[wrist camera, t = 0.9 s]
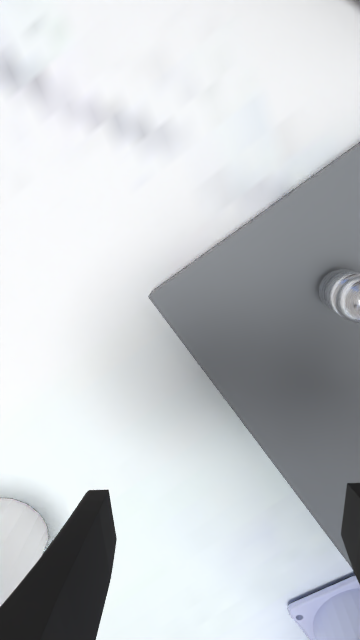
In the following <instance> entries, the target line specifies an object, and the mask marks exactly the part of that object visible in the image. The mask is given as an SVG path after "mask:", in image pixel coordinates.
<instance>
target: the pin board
mask: <svg viewBox="0 0 360 640" xmlns="http://www.w3.org/2000/svg"><path fill="white" fill-rule="evenodd" d="M338 269H348V270H351V271H355V272H358V273H360V142H359V143H358V144H357V145H355V146H354V147H353V148H351V149H350V150H348V151H347V152H346V153H344V154H343V155H341V156H340V157H339V158H337V159H336V160H334V161H333V162H332V163H330V164H329V165H327V166H326V167H325V168H323V169H322V170H320V171H319V172H318V173H316V174H315V175H313V176H312V177H311V178H309V179H308V180H307V181H305V182H304V183H302V184H301V185H300V186H298V187H297V188H295V189H294V190H293V191H291V192H290V193H288V194H287V195H286V196H284V197H283V198H281V199H280V200H279V201H277V202H276V203H274V204H273V205H272V206H270V207H269V208H267V209H266V210H265V211H263V212H262V213H261V214H259V215H258V216H256V217H255V218H254V219H252V220H251V221H249V222H248V223H247V224H245V225H244V226H242V227H241V228H240V229H238V230H237V231H235V232H234V233H233V234H231V235H230V236H228V237H227V238H226V239H224V240H223V241H221V242H220V243H219V244H217V245H216V246H215V247H213V248H212V249H210V250H209V251H208V252H206V253H205V254H203V255H202V256H201V257H199V258H198V259H196V260H195V261H194V262H192V263H191V264H189V265H188V266H187V267H185V268H184V269H182V270H181V271H180V272H178V273H177V274H175V275H174V276H173V277H171V278H170V279H169V280H167V281H166V282H164V283H163V284H162V285H160V286H159V287H157V288H156V289H155V290H153V291H152V292H151V293H150V295H149V296H148V297H149V299H150V300H151V301H152V303H153V304H154V305H155V307H156V308H157V309H158V311H159V312H160V313H161V314H162V316H163V317H164V318H165V320H166V321H167V322H168V324H169V325H170V326H171V328H172V329H173V330H174V332H175V333H176V334H177V336H178V337H179V338H180V340H181V341H182V342H183V344H184V345H185V346H186V348H187V349H188V350H189V352H190V353H191V354H192V356H193V357H194V358H195V360H196V361H197V362H198V364H199V365H200V366H201V368H202V369H203V370H204V372H205V373H206V374H207V376H208V377H209V378H210V380H211V381H212V382H213V384H214V385H215V386H216V388H217V389H218V390H219V392H220V393H221V394H222V396H223V397H224V398H225V400H226V401H227V402H228V404H229V405H230V406H231V408H232V409H233V410H234V412H235V413H236V414H237V416H238V417H239V418H240V420H241V421H242V422H243V424H244V425H245V426H246V428H247V429H248V430H249V432H250V433H251V434H252V436H253V437H254V438H255V440H256V441H257V442H258V444H259V445H260V446H261V448H262V449H263V450H264V452H265V453H266V454H267V456H268V457H269V458H270V460H271V461H272V462H273V464H274V465H275V466H276V468H277V469H278V470H279V472H280V473H281V474H282V476H283V477H284V478H285V480H286V481H287V482H288V484H289V485H290V486H291V488H292V489H293V490H294V492H295V493H296V494H297V496H298V497H299V498H300V500H301V501H302V502H303V504H304V505H305V506H306V508H307V509H308V510H309V512H310V513H311V514H312V516H313V517H314V518H315V520H316V521H317V522H318V524H319V525H320V526H321V528H322V529H323V530H324V532H325V533H326V534H327V535H328V537H329V538H330V539H331V541H332V542H333V543H334V545H335V546H336V547H337V549H338V550H339V551H340V553H341V554H342V555H343V557H344V558H345V559H346V561H347V562H348V563H349V565H350V566H351V567H352V565H351V562H350V560H349V557H348V554H347V551H346V548H345V545H344V542H343V539H342V537H341V528H342V520H343V512H344V504H345V496H346V488H347V483H360V323H355V322H351V321H348V320H346V319H344V318H343V317H341V316H340V315H338V314H337V313H335V312H334V311H332V310H331V309H329V308H328V307H327V306H325V305H324V303H323V302H322V301H321V299H320V296H319V286H320V283H321V281H322V279H323V278H324V277H325V276H326V275H327V274H328V273H330V272H332V271H335V270H338ZM352 569H353V568H352Z"/></svg>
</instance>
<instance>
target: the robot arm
mask: <svg viewBox="0 0 360 640" xmlns="http://www.w3.org/2000/svg"><path fill="white" fill-rule="evenodd" d="M341 537H342V539H343V542H344V545H345V548H346V551H347V554H348V557H349V560H350V562H351V565H352V568H353V571H354V573H355V575H354V576H352V577H350V578H347V579H345V580H343V581H341V582H338V583H336V584H334V585H331V586H329V587H327V588H325V589H322V590H320V591H318V592H315V593H313V594H311V595H309V596H306V597H304V598H302V599H299V600H297V601H295V602H293V603H291V604H289V606H288V612H289V615H290V616H291V617H292V618H293V620H294V621H295V622H296V623H297V624H298V626H299V627H300V628H301V629H302V630H303V632H304V633H305V634H306V635H307V636H308V637H309V639H310V640H360V483H347V488H346V496H345V504H344V512H343V520H342V528H341ZM115 546H116V533H115V527H114V521H113V515H112V508H111V502H110V496H109V490H89V491H88V492H87V493H86V494H85V495H84V497H83V498H82V500H81V501H80V503H79V504H78V506H77V507H76V509H75V510H74V512H73V513H72V515H71V516H70V518H69V519H68V520H67V522H66V523H65V525H64V526H63V528H62V529H61V530H60V532H59V533H58V535H57V536H56V537H55V539H54V540H53V541H52V543H51V544H50V545H49V547H48V548H47V549H46V551H45V552H44V553H43V555H42V556H41V557H40V559H39V560H38V561H37V563H36V564H35V565H34V566H33V568H32V569H31V570H30V571H29V573H28V574H27V575H26V576H25V577H24V579H23V580H22V581H21V582H20V584H19V585H18V586H17V587H16V589H15V590H14V591H13V592H12V593H11V595H10V596H9V597H8V598H7V599H6V600H5V602H4V603H3V604H2V605H1V606H0V640H96V636H97V632H98V628H99V624H100V620H101V616H102V612H103V608H104V604H105V600H106V596H107V591H108V587H109V583H110V579H111V573H112V567H113V560H114V553H115Z"/></svg>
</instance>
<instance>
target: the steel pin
mask: <svg viewBox="0 0 360 640" xmlns="http://www.w3.org/2000/svg"><path fill="white" fill-rule="evenodd" d="M319 296H320V299H321V301H322V302H323V303H324V305H325V306H327V307H328V308H329V309H331V310H332V311H334V312H335V313H337V314H338V315H340V316H341V317H343V318H344V319H346V320H348V321H351V322H355V323H360V273H358V272H355V271H351V270H348V269H338V270H335V271H332V272H330V273H328V274H327V275H326V276H325V277H324V278H323V279H322V281H321V283H320V286H319Z"/></svg>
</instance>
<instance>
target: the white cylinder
mask: <svg viewBox="0 0 360 640" xmlns="http://www.w3.org/2000/svg"><path fill="white" fill-rule="evenodd" d="M47 540H48V531H47V525H46V523H45V522H44V520H43V519H42V517H41V515H40V514H39V513H38V512H37V511H35V510H34V509H33V508H32V507H30V506H29V505H28V504H25V503H23V502H20V501H18V500H15V499H9V498H0V606H1V605H2V604H3V603H4V602H5V600H6V599H7V598H8V597H9V596H10V595H11V593H12V592H13V591H14V590H15V589H16V587H17V586H18V585H19V584H20V582H21V581H22V580H23V579H24V577H25V576H26V575H27V574H28V573H29V571H30V570H31V569H32V568H33V566H34V565H35V564H36V563H37V561H38V560H39V559H40V557H41V556H42V554H43V551H44V548H45V546H46V543H47Z"/></svg>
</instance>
